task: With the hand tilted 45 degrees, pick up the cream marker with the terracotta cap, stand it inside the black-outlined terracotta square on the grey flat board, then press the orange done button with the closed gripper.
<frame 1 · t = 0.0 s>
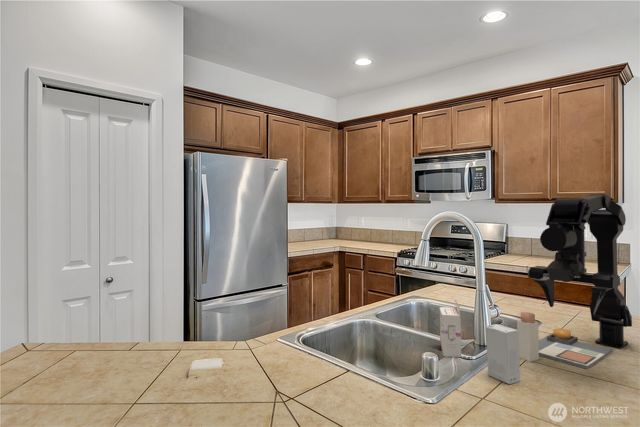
hand: (571, 310, 95), 15 cm above the countertop, tool pointing down, fingers open, 9 cm apart
grey flat board: (566, 351, 107), on the countertop
soap: (206, 374, 97), on the countertop
done button: (561, 333, 113), point 3 cm above the countertop, slide at 0.0 cm
ink cartridge box: (450, 352, 108), on the countertop
marker: (528, 358, 102), on the countertop
skincare box: (503, 379, 91), on the countertop
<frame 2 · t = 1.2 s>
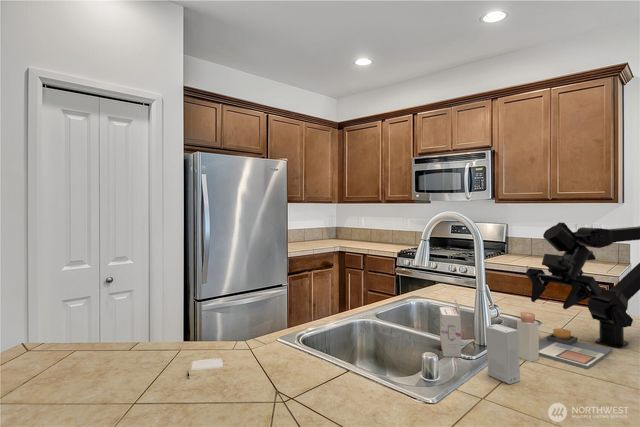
hand: (547, 304, 106), 14 cm above the countertop, tool tilted 45°, fingers open, 9 cm apart
nothing on the countertop moved.
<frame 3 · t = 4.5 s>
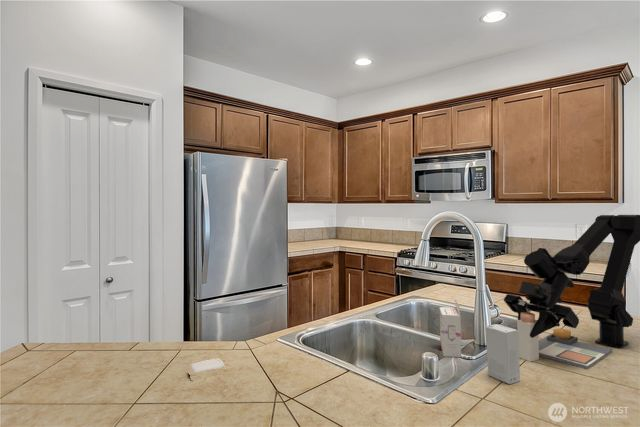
hand: (524, 334, 102), 7 cm above the countertop, tool tilted 45°, fingers closed on marker, 4 cm apart
marker: (528, 358, 102), on the countertop, touching gripper
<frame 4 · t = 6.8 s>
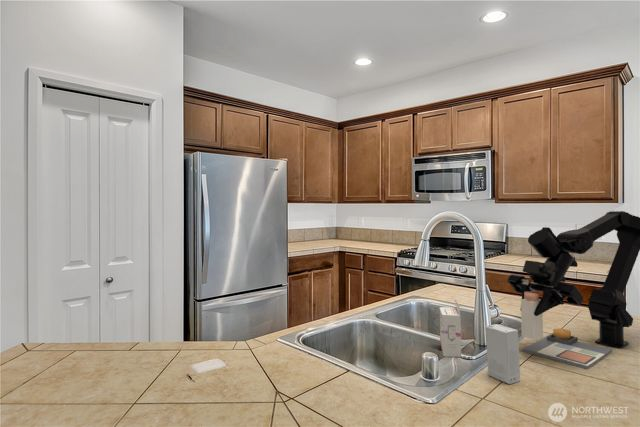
hand: (528, 313, 102), 12 cm above the countertop, tool tilted 45°, fingers closed on marker, 4 cm apart
marker: (532, 336, 102), point 6 cm above the countertop, touching gripper
when the fingers open (9 cm above the countertop, at t = 9.2 s): marker stays where it is, resting on grey flat board.
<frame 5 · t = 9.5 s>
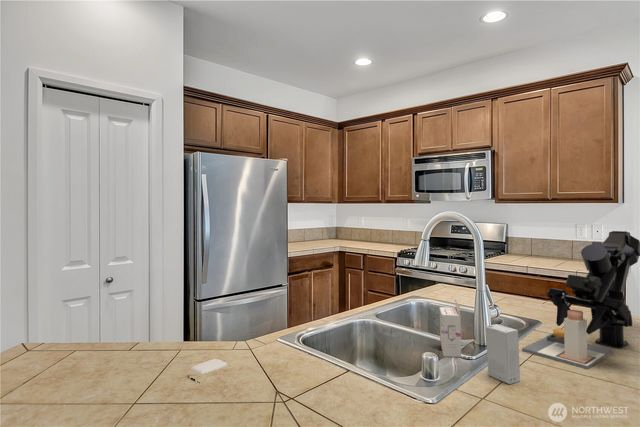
hand: (572, 328, 100), 9 cm above the countertop, tool tilted 45°, fingers open, 7 cm apart
marker: (575, 356, 100), point 1 cm above the countertop, touching grey flat board
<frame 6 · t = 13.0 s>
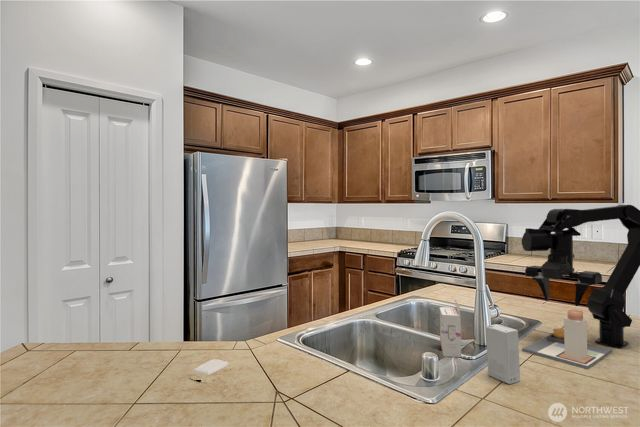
hand: (561, 303, 113), 12 cm above the countertop, tool pointing down, fingers open, 8 cm apart
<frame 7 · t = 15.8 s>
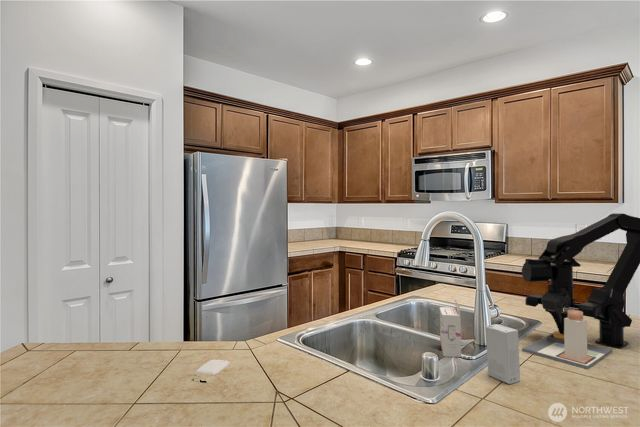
hand: (562, 333, 113), 3 cm above the countertop, tool pointing down, fingers closed, pressing on done button
done button: (562, 336, 113), point 2 cm above the countertop, slide at 0.9 cm, touching gripper
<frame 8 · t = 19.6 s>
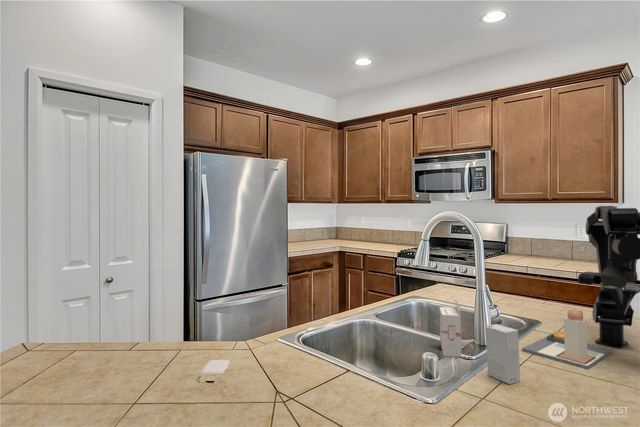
hand: (622, 314, 100), 12 cm above the countertop, tool pointing down, fingers closed
done button: (562, 336, 113), point 2 cm above the countertop, slide at 1.0 cm
at the end: marker 0.1 cm from the target spot on the grey flat board, point 1.0 cm above the grey flat board's base; marker tilted 0°; done button slide at 1.0 cm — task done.
